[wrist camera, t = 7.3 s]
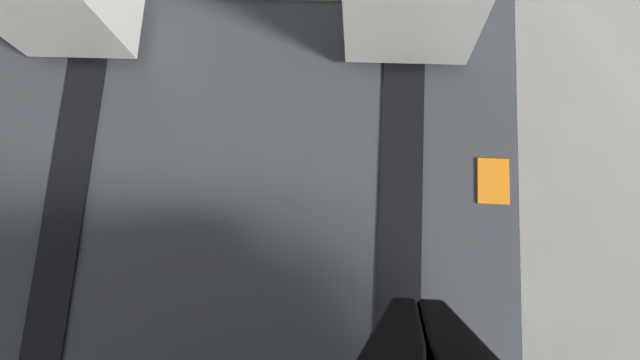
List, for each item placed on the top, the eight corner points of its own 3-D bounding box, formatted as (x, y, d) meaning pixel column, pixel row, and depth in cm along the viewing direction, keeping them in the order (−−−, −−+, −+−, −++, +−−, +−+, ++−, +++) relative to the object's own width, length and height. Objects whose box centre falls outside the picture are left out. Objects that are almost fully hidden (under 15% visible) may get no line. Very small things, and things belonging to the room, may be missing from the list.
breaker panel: (497, 430, 15) (525, 456, 13) (-15, 391, 16) (-83, 408, 14) (492, 5, 18) (514, -44, 15) (55, -1, 19) (9, -47, 16)
